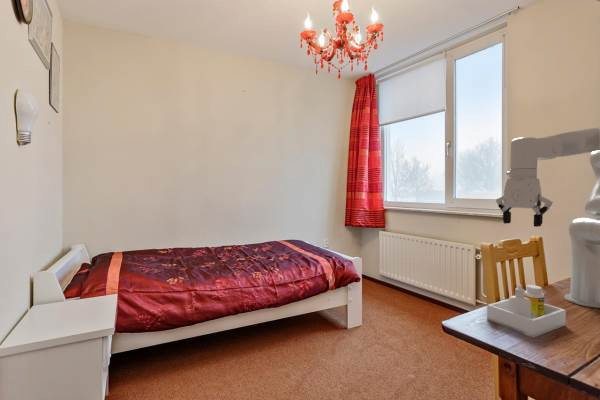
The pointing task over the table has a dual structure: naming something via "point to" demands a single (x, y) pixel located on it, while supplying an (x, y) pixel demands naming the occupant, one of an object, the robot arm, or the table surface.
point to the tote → (526, 319)
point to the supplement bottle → (535, 300)
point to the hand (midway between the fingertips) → (521, 224)
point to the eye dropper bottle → (520, 303)
